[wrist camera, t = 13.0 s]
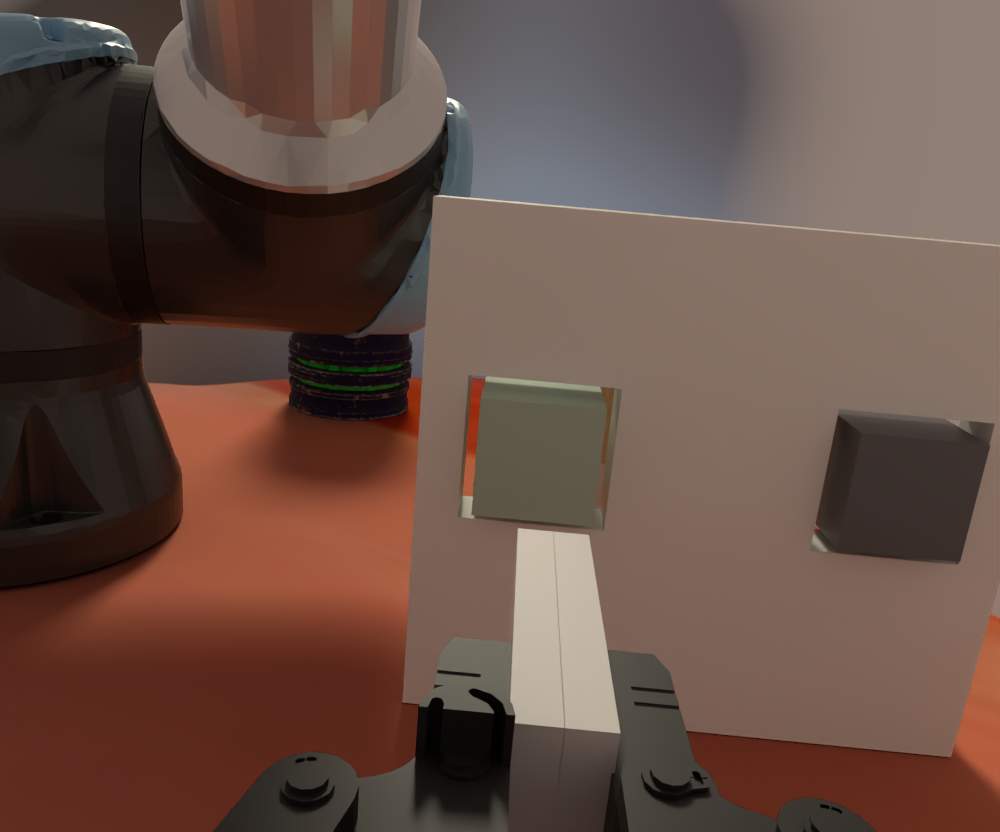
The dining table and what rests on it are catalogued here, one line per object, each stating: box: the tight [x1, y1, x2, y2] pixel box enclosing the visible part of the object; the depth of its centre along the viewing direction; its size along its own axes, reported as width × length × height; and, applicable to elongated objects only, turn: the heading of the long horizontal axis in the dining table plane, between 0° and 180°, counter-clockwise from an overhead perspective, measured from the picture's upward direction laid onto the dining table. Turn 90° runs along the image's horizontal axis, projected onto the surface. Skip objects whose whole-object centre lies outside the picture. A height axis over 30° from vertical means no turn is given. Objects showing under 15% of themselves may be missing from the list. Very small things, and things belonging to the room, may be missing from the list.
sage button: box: [471, 376, 607, 527], centre depth 30 cm, size 4×6×4 cm, turn 178°
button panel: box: [402, 195, 1000, 757], centre depth 31 cm, size 20×6×18 cm, turn 88°
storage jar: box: [288, 332, 413, 420], centre depth 66 cm, size 10×10×15 cm
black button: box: [816, 409, 990, 562], centre depth 29 cm, size 4×6×4 cm, turn 178°
